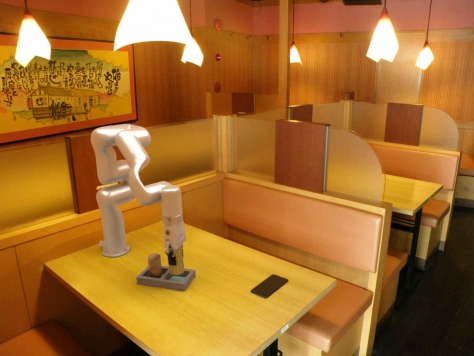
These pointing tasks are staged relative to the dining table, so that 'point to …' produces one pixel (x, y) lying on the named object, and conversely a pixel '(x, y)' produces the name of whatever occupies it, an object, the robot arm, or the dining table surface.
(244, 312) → the dining table surface
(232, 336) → the dining table surface
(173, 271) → the vase
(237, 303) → the dining table surface
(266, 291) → the smartphone
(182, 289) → the slot rack
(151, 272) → the walnut peg
